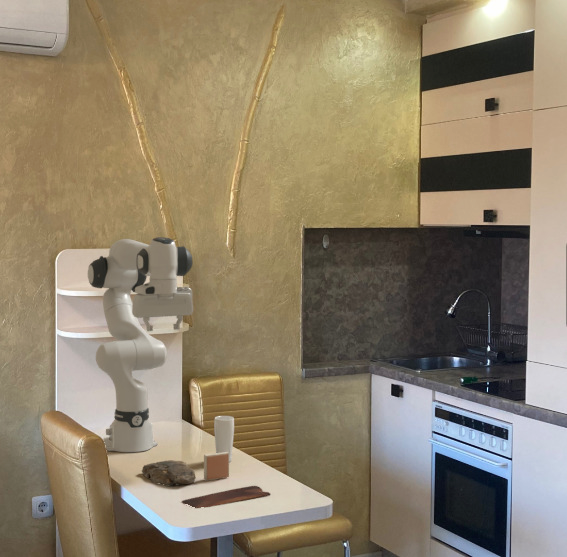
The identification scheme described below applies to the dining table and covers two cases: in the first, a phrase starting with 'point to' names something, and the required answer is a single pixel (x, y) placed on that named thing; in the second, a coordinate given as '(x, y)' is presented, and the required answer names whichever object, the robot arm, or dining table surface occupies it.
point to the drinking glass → (224, 434)
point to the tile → (216, 465)
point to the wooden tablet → (226, 497)
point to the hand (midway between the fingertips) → (163, 330)
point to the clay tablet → (169, 472)
